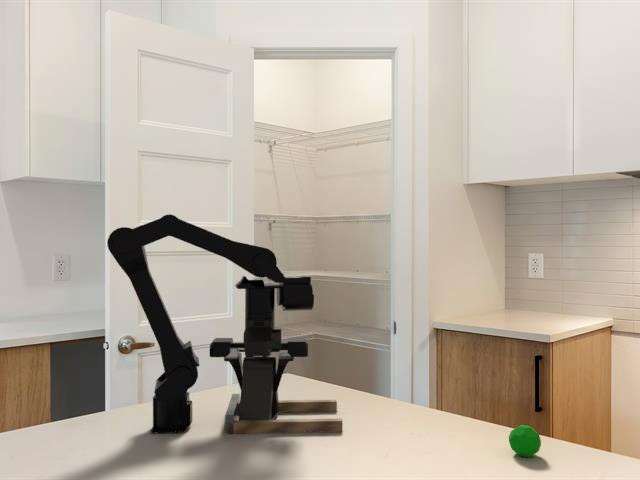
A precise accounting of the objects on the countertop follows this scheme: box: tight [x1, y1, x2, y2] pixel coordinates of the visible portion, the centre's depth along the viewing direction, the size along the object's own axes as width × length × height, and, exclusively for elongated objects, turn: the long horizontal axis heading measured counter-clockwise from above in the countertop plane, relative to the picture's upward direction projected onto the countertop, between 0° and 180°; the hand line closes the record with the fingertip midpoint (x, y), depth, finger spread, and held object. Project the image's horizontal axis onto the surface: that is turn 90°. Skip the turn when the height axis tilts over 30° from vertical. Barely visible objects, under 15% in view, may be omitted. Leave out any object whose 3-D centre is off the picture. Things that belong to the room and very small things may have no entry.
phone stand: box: [237, 355, 280, 420], centre depth 114 cm, size 9×6×12 cm, turn 171°
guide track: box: [227, 399, 343, 435], centre depth 114 cm, size 21×14×2 cm, turn 93°
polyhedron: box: [508, 424, 542, 458], centre depth 96 cm, size 5×5×5 cm
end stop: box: [224, 393, 241, 435], centre depth 113 cm, size 2×14×4 cm, turn 3°
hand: (259, 391), depth 114 cm, fingers closed on phone stand, 6 cm apart
